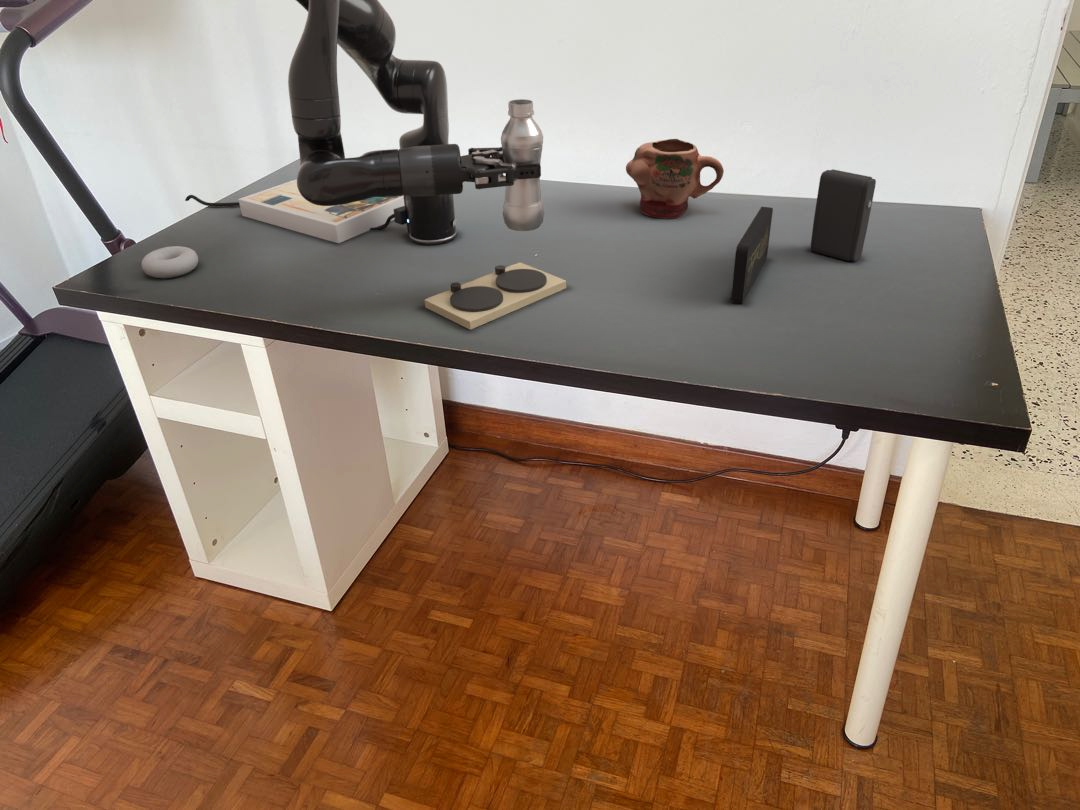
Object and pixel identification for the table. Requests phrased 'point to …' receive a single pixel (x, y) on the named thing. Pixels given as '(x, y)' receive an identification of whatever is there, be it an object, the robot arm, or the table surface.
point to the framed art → (317, 213)
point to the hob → (494, 295)
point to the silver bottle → (521, 147)
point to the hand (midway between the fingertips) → (537, 163)
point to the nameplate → (751, 254)
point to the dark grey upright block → (842, 214)
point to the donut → (169, 262)
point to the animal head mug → (670, 176)
